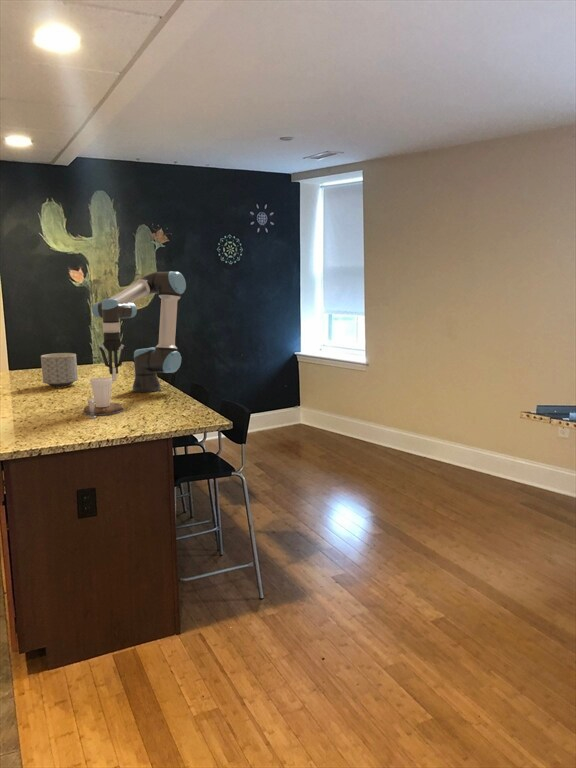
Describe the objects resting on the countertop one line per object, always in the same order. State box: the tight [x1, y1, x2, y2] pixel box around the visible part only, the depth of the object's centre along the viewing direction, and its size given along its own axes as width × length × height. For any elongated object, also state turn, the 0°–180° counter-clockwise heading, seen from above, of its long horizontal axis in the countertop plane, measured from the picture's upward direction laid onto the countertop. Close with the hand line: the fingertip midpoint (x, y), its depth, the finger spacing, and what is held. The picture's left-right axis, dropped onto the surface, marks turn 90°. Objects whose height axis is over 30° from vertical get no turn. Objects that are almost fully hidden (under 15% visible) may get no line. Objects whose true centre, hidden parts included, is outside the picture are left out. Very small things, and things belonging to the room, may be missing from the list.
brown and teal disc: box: [83, 402, 123, 414], centre depth 283 cm, size 17×22×4 cm
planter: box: [40, 352, 79, 388], centre depth 351 cm, size 19×19×18 cm
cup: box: [89, 376, 113, 407], centre depth 280 cm, size 10×10×13 cm
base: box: [82, 407, 124, 417], centre depth 282 cm, size 18×18×1 cm
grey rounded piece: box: [87, 396, 98, 419], centre depth 269 cm, size 4×4×9 cm
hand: (114, 380), depth 292 cm, fingers closed
